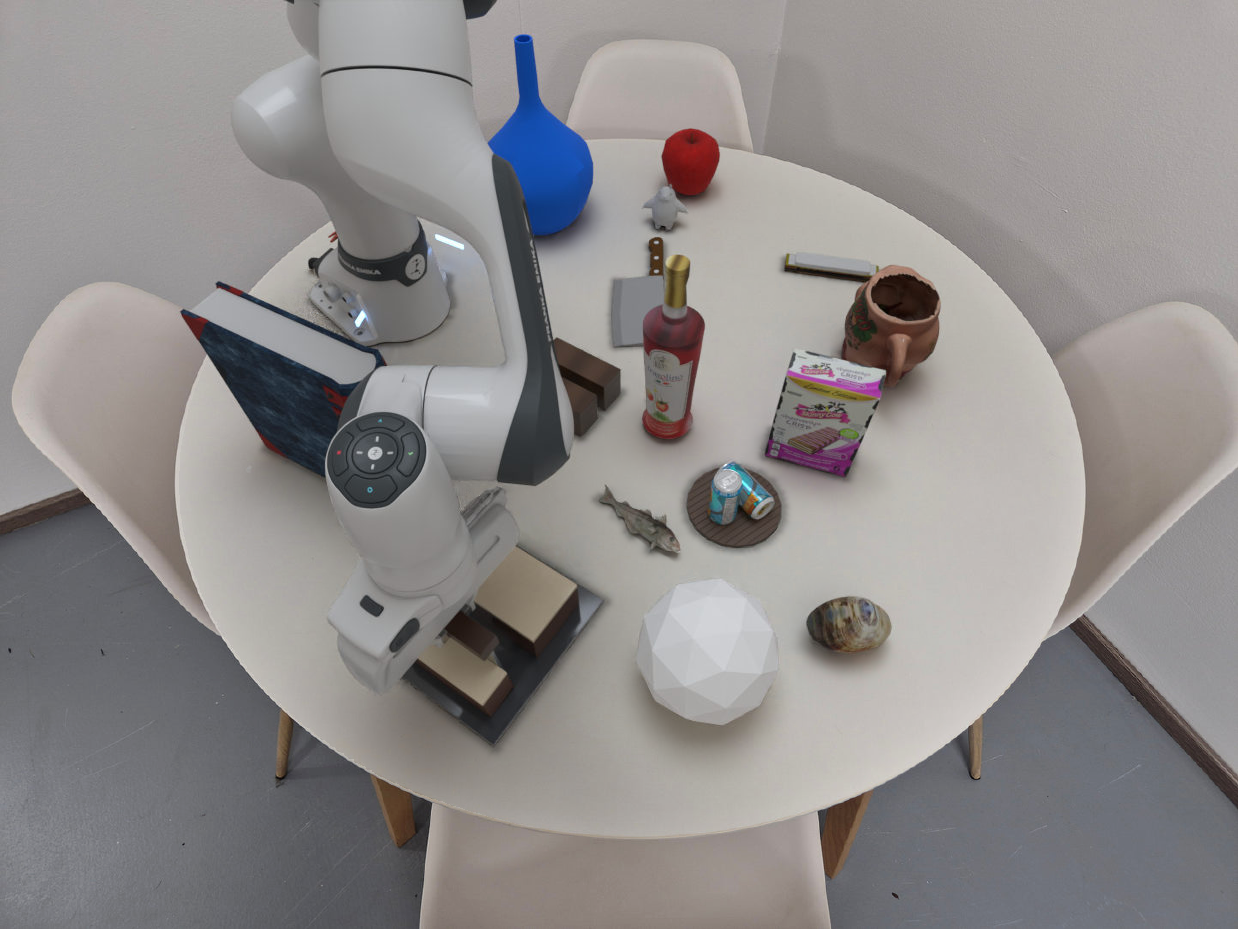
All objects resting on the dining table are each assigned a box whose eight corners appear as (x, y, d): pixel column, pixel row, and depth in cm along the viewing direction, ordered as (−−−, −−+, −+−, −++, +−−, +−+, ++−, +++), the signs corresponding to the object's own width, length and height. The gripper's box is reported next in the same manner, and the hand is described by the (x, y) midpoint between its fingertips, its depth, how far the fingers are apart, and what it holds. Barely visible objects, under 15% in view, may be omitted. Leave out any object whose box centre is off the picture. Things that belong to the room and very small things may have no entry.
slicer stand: (518, 402, 107) (513, 378, 103) (559, 361, 112) (556, 336, 108) (581, 437, 104) (579, 414, 100) (620, 393, 108) (620, 369, 104)
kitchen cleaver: (614, 237, 127) (675, 235, 126) (615, 242, 128) (675, 240, 127) (609, 344, 113) (677, 343, 112) (610, 349, 114) (677, 347, 113)
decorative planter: (928, 427, 104) (965, 356, 93) (838, 422, 105) (864, 351, 94) (907, 323, 116) (938, 249, 105) (826, 320, 117) (848, 245, 105)
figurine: (638, 229, 130) (639, 189, 123) (645, 208, 133) (646, 168, 126) (685, 235, 128) (688, 195, 122) (690, 214, 132) (694, 173, 125)
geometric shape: (709, 659, 91) (779, 568, 84) (745, 769, 78) (830, 672, 72) (603, 630, 86) (669, 531, 79) (624, 743, 73) (704, 637, 67)
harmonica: (783, 271, 123) (786, 261, 121) (785, 259, 125) (787, 249, 123) (876, 284, 121) (879, 274, 120) (876, 271, 123) (880, 261, 121)
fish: (675, 567, 93) (697, 533, 93) (664, 565, 90) (687, 529, 90) (596, 508, 100) (617, 476, 99) (583, 504, 96) (604, 471, 96)
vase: (505, 263, 125) (476, 83, 100) (476, 199, 135) (443, 21, 110) (610, 236, 128) (607, 56, 104) (574, 176, 138) (563, -1, 114)
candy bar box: (763, 458, 102) (783, 374, 88) (771, 430, 104) (792, 345, 91) (847, 480, 99) (881, 398, 86) (853, 451, 102) (887, 367, 89)
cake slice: (408, 656, 85) (395, 641, 81) (432, 628, 87) (420, 611, 83) (490, 717, 81) (481, 704, 77) (514, 686, 83) (506, 672, 79)
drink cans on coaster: (667, 498, 98) (670, 461, 92) (738, 453, 102) (746, 415, 96) (728, 565, 92) (736, 531, 86) (801, 515, 96) (813, 479, 90)
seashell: (877, 613, 89) (897, 582, 82) (888, 661, 85) (910, 632, 79) (795, 616, 88) (809, 584, 82) (803, 663, 85) (818, 635, 79)
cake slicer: (427, 632, 84) (404, 601, 77) (441, 615, 86) (420, 583, 78) (497, 682, 81) (480, 655, 74) (511, 664, 82) (496, 635, 75)
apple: (656, 203, 134) (659, 146, 125) (664, 171, 139) (666, 114, 130) (713, 209, 133) (719, 152, 124) (718, 176, 138) (724, 119, 129)
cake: (384, 664, 85) (370, 644, 81) (498, 535, 95) (491, 511, 90) (494, 746, 80) (486, 731, 76) (603, 601, 90) (602, 580, 85)
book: (444, 488, 99) (398, 354, 79) (411, 528, 96) (354, 399, 75) (298, 416, 106) (221, 276, 86) (262, 451, 103) (173, 314, 83)
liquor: (632, 437, 104) (634, 276, 81) (650, 398, 108) (656, 234, 85) (684, 452, 102) (701, 292, 79) (700, 412, 106) (720, 249, 83)
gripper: (474, 462, 72) (494, 535, 83) (309, 631, 62) (357, 688, 74) (527, 494, 70) (540, 564, 81) (365, 674, 60) (405, 725, 72)
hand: (452, 624), depth 77 cm, fingers closed on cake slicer, 2 cm apart
